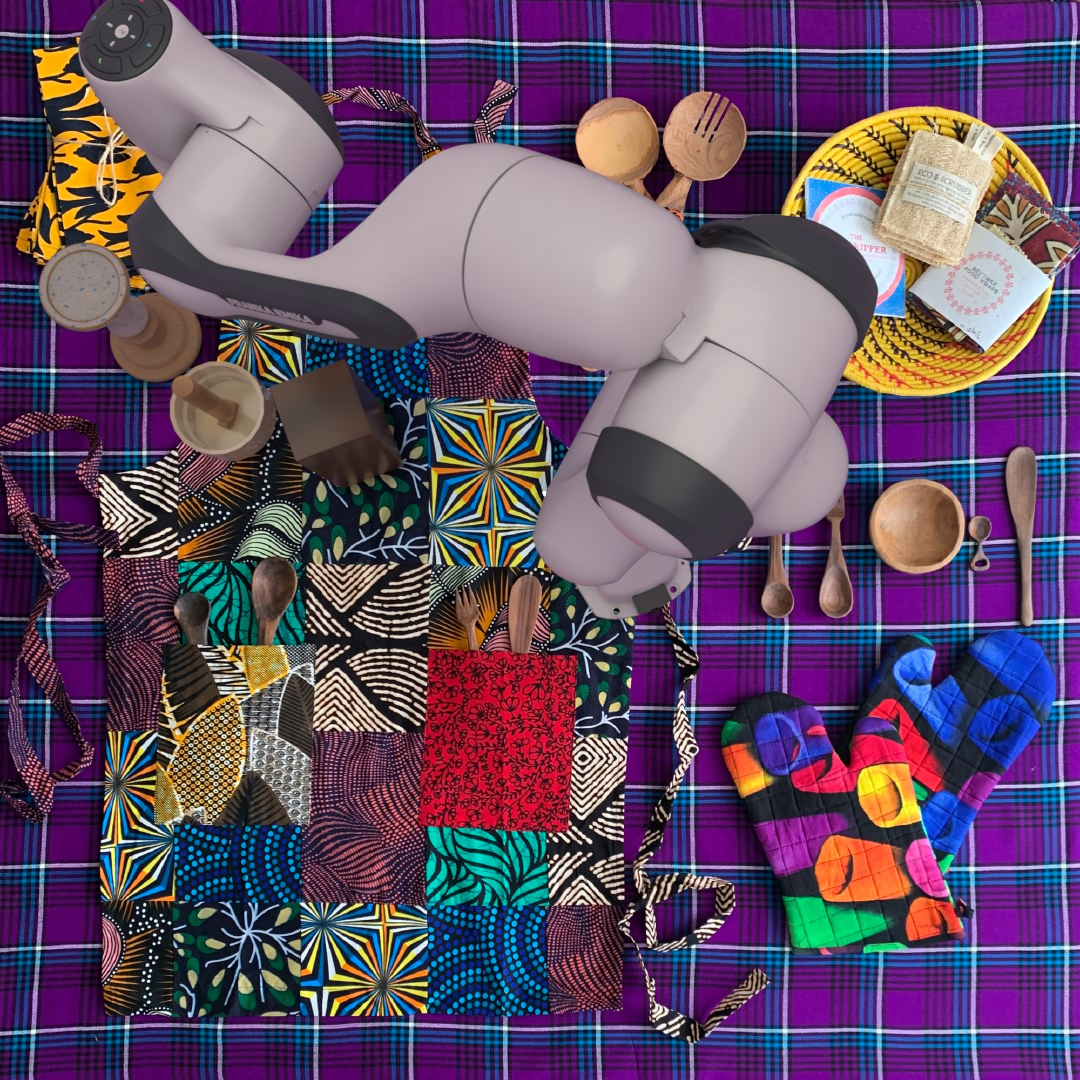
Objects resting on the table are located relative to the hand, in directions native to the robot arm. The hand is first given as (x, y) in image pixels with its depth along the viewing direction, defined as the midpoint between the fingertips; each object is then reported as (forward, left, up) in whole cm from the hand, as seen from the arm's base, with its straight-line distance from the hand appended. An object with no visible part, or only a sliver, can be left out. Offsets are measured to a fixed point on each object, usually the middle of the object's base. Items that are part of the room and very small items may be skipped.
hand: (263, 223), depth 90 cm
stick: (-6, +18, -33) cm, 38 cm away
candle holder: (+8, +24, -34) cm, 43 cm away
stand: (-16, +3, -34) cm, 38 cm away
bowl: (-6, +18, -34) cm, 39 cm away
